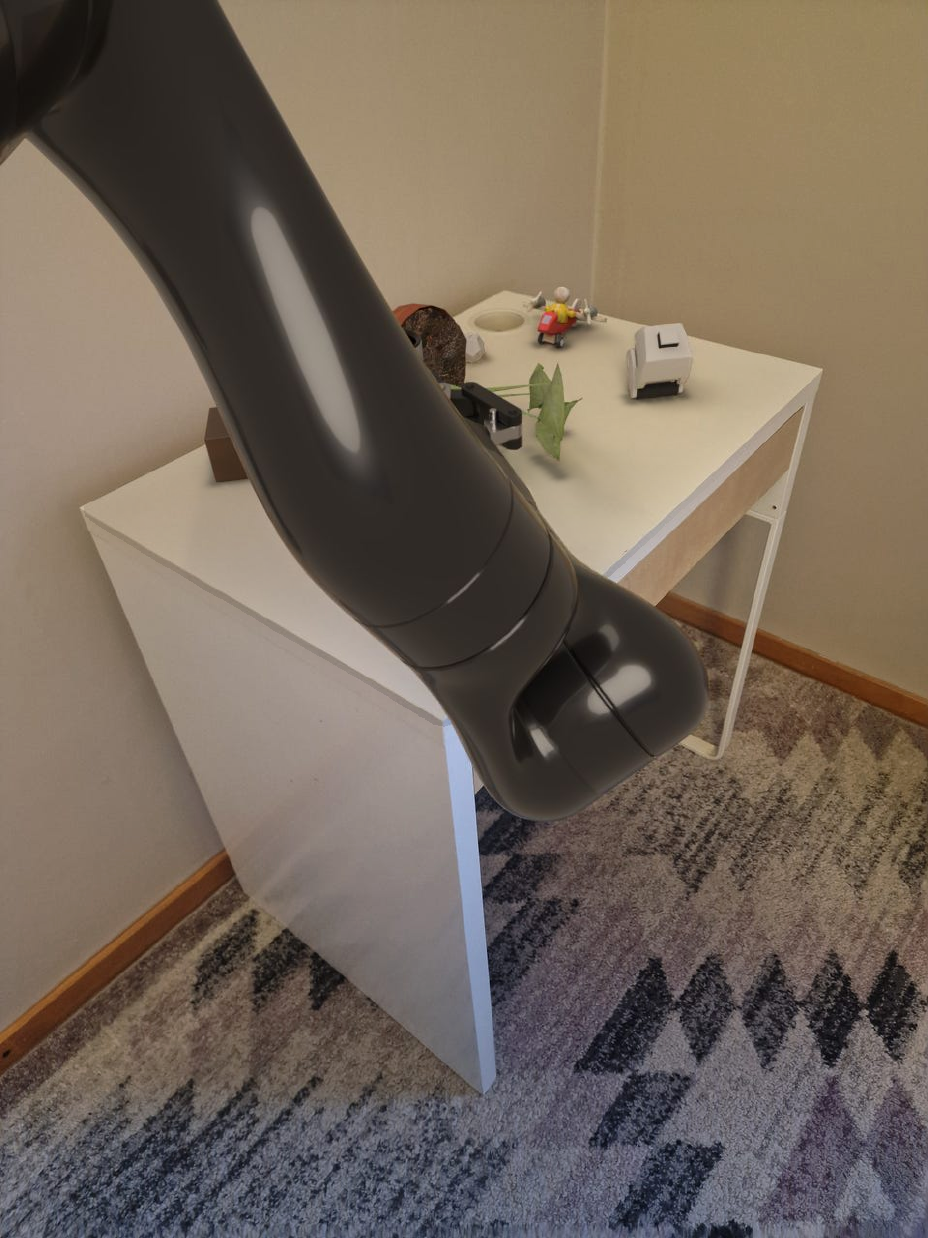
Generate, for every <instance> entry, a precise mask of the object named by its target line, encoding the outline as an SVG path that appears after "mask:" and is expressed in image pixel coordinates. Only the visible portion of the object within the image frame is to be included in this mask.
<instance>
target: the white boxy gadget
mask: <svg viewBox="0 0 928 1238" xmlns="http://www.w3.org/2000/svg"><path fill="white" fill-rule="evenodd" d="M625 357H626V360H625V361H626V375H627V384H628V389H629V395H630V396H629V397H630V398H631V399H636V400H641V399H649V398H661V397H670V396H678V395H679V394H681V393H683V391H684V385H685V384H686V383H687V381H688V379H689V378H690V374H691V371H692V367H693V363H694V353H693V350H692V348H691V345H690V341H689V338H688V334H687V332H686V329H685V327H684V325H683V323H682V322H675V323H664V324H656V325H648V326H647V325H646V326H643V327H641V328H639V329H638V330H636V331H635V333H634V348H629V349H628V350H627V351H626V356H625Z"/></svg>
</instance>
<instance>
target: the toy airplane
mask: <svg viewBox="0 0 928 1238" xmlns="http://www.w3.org/2000/svg"><path fill="white" fill-rule="evenodd" d="M542 294H543V291H542V290H540V291H539V292H538V294H537V295H535V296H533V297H531V299H530V302H523V304H522V307H523V308H526V313H530V312H531V311H532V310H538V311H543V312H544V313H543V314H542V316H541V318H540V321H539V324H538V327H537V332H539V333H538V336H537V343H538V344H541V345H543V344H544V342H546V343H550V344H553V345H555V344H556V347H557V348H558V349H561V348H563V347H564V345H565V337H564V336H562V335H563V334H564V333H566V331H567V330H569V329H570V328H571V327H577V323H578V321H579V322H584V323H587V325H591V324H592V322H598V323H603V324H605V323H606V324H607V323H608V322H607V321H608V318H607V317H604V316H599V315H598V309H597V308H596V307H595V306H594V305H588V301H587V298H584V299H583V304H584V308H583V310H582V311H581V310H580V308H581V303H582V299H581V298H575V299H574V300H573V303H572V304H571V306H570V308H569V306H568V305H567V304H566V303H567V302H568V301H569V299H570V296H571V292H570V290H569V289H568V288H567V287H566V286H559V287H557V288H555V291H554V292H553V298H554V301H555V302H554V303H552V305H551V306H550V305H547V301H546V299H545V298H544V297H543V296H542ZM559 335H560V336H559Z"/></svg>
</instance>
